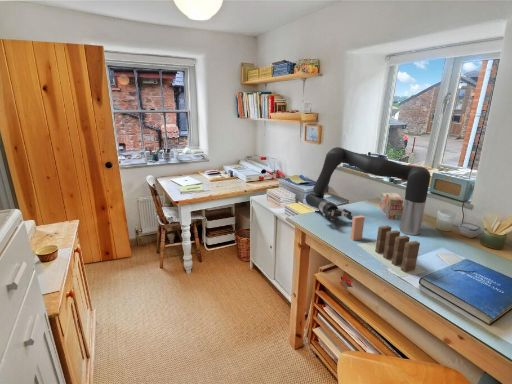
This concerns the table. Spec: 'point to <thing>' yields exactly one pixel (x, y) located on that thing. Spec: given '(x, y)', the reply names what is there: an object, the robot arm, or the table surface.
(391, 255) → the domino
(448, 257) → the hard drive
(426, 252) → the table surface
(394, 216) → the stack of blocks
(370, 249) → the domino mat
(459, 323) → the table surface
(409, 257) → the domino
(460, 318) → the table surface
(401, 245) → the domino
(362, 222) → the loose domino
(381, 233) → the domino
